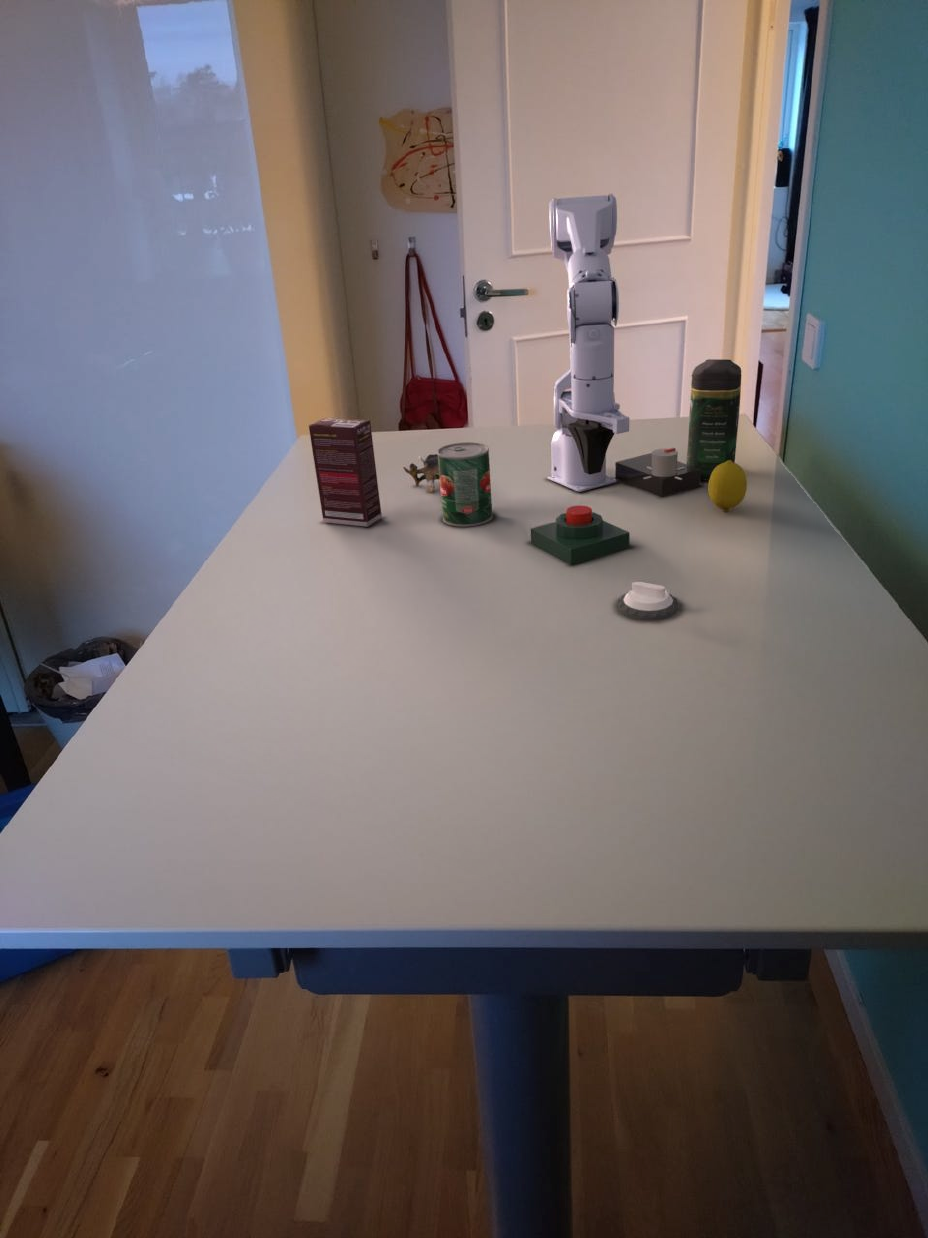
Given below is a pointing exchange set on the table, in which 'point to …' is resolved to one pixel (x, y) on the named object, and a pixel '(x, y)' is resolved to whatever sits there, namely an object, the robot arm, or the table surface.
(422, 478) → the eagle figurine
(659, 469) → the dial
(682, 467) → the rotary knob box
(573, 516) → the button
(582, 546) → the control block
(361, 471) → the supplement box
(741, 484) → the lemon
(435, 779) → the table surface
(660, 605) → the stove knob
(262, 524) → the table surface
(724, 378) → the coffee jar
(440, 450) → the canned tomato
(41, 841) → the table surface
